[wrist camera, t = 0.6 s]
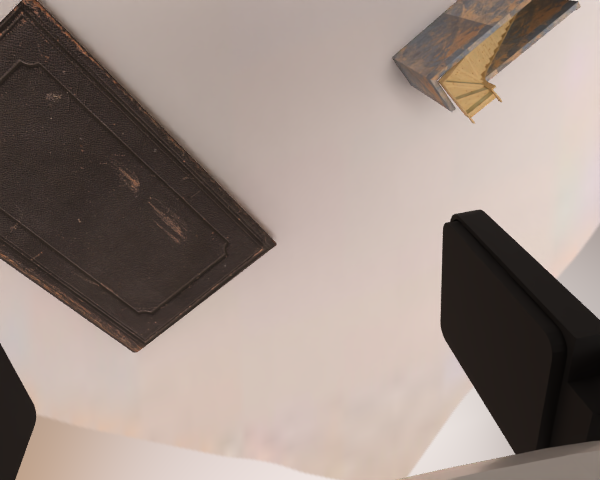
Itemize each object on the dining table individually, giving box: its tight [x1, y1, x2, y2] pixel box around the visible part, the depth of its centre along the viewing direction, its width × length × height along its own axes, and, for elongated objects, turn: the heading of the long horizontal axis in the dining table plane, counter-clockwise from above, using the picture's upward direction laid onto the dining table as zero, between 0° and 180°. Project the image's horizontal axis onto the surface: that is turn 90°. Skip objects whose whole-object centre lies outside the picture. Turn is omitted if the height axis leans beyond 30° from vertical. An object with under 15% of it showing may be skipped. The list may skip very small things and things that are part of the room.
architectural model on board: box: [392, 0, 581, 123], centre depth 32 cm, size 11×3×10 cm, turn 130°
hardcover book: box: [0, 0, 277, 352], centre depth 38 cm, size 16×23×2 cm
